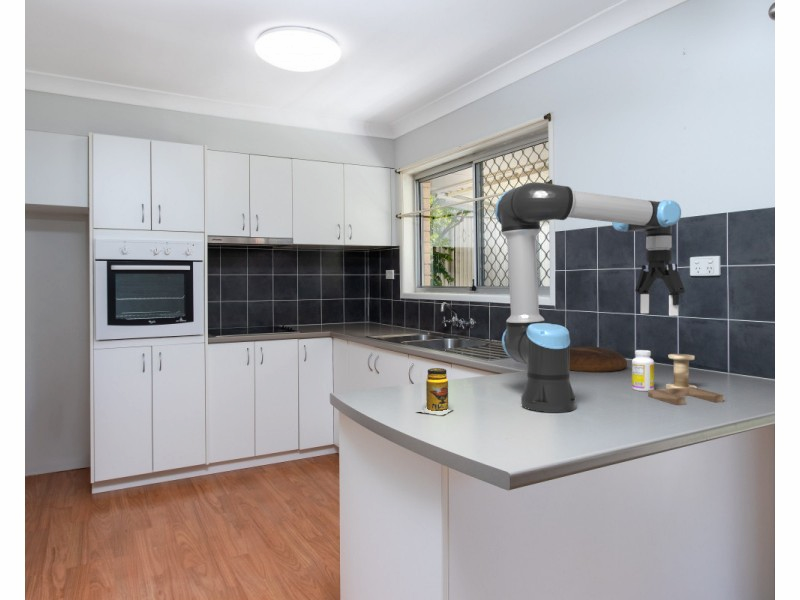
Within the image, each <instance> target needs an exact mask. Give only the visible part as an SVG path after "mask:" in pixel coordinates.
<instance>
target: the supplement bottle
mask: <svg viewBox="0 0 800 600" xmlns="http://www.w3.org/2000/svg"><path fill="white" fill-rule="evenodd" d="M634 355H635V357H634V358H632V360H631V388H632V390H634V391H637V392H648V390H655V361H654V359H653V358H651V355H652V351H651V350H647V349H646V350H645V349H636V350H635V351H634Z"/></svg>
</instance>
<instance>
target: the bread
mask: <svg viewBox="0 0 800 600" xmlns="http://www.w3.org/2000/svg"><path fill="white" fill-rule="evenodd" d="M627 365H628V361H627V359H626V357H624V355H622V354H621V353H619V352H618V351H616V350H613V349H611V348H607V347H606V348H604V347H599V346H587V345H585V346H575V347H571V348H570V359H569V371H572V372H583V373H584V372H585V373H603V372H604V373H607V372H609V373H610V372H616V371H620V370H623V369H625V368H626V367H627Z"/></svg>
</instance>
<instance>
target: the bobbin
mask: <svg viewBox="0 0 800 600" xmlns="http://www.w3.org/2000/svg"><path fill="white" fill-rule="evenodd" d="M667 356H668V359H670V360H673V383H666V384H665V389H671V388H686V387H694V388H698V386H697V385H693V384H690V382H689V380H690V361H694V360H696V359H695V357H696V356H695V355H694V354H687V353H684V354H683V353H670V354H668V355H667Z"/></svg>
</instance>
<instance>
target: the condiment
mask: <svg viewBox="0 0 800 600" xmlns="http://www.w3.org/2000/svg"><path fill="white" fill-rule="evenodd" d="M447 373H448V371H447V369H446V368H443V367H442V368H440V367H435V368H433V367H432V368H429V369H427V378H426V381H425V382H426V383H425V385H426V388H425V389H426V390H425V391H426V394H425V395H426V399H425V400H426V403H425V404H426V407H427V409H428V410H431V411H443V410H447V409H449V379H448V378H447V377H448V376H447Z"/></svg>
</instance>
